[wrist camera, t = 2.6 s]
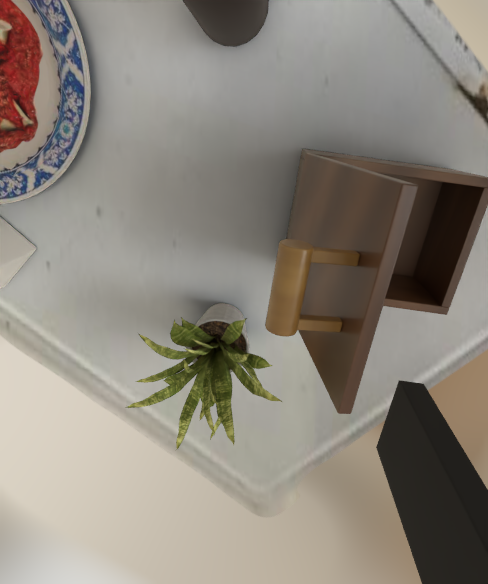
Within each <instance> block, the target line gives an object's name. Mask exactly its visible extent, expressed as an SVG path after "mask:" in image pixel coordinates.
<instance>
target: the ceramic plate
mask: <svg viewBox="0 0 488 584" xmlns="http://www.w3.org/2000/svg"><path fill="white" fill-rule="evenodd" d="M90 99H91V86H90V73H89V64H88V59H87V54H86V49H85V46H84V42H83V39H82V35H81V32H80V29H79V27H78V24H77V21H76V18H75V16H74V14H73V12H72V10H71V7H70V5H69V3H68V1H67V0H0V204H6V203H12V202H17V201H20V200H24V199H27V198H29V197H31V196H34V195H36V194H38V193H39V192H41V191H43V190H45V189H46V188H47V187H49V186H50V185H51V184H53V183H54V182H55V181H56V180H57V179H58V178H59V177H60V176H61V175H62V174H63V173H64V172H65V171H66V169H67V168H68V167H69V166H70V164H71V162H72V161H73V159H74V158H75V156H76V154H77V152H78V150H79V148H80V146H81V143H82V140H83V138H84V135H85V131H86V127H87V123H88V118H89V111H90Z"/></svg>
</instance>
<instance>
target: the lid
mask: <svg viewBox="0 0 488 584" xmlns="http://www.w3.org/2000/svg"><path fill="white" fill-rule="evenodd" d="M417 189H418V185H416V184H413V183H409V182H406V181H403V180H399V179H396V178H393V177H389V176H386V175H383V174H379V173H376V172H373V171H369V170H366V169H363V168H359V167H356V166H353V165H349V164H346V163H343V162H339V161H336V160H333V159H329V158H326V157H323V156H319V155H316V154H310V153H306V156H305V161H304V167H303V172H302V178H301V183H300V189H299V194H298V200H297V206H296V211H295V217H294V222H293V228H292V233H291V239H284V240H281V241H280V242H279V247H278V253H277V259H276V265H275V271H274V277H273V283H272V289H271V294H270V300H269V306H268V312H267V318H266V324H265V326H266V329H267V330H268V331H269V332H271V333H273V334H275V335H279V336H292V335H294V334H295V333H296V332H297V330H299V332H300V335H301V337H302V339H303V341H304V343H305V345H306V347H307V349H308V351H309V353H310V356H311V358H312V360H313V362H314V364H315V366H316V368H317V370H318V372H319V374H320V376H321V379H322V381H323V383H324V385H325V387H326V389H327V391H328V393H329V395H330V397H331V400H332V402H333V404H334V406H335V408H336V410H337V412H338V413H339V414H351V412H352V408H353V405H354V401H355V398H356V395H357V391H358V388H359V385H360V381H361V378H362V375H363V371H364V368H365V364H366V361H367V358H368V354H369V351H370V348H371V344H372V341H373V337H374V334H375V331H376V327H377V324H378V321H379V317H380V314H381V311H382V307H383V304H384V300H385V297H386V294H387V290H388V287H389V284H390V280H391V277H392V273H393V270H394V267H395V263H396V260H397V257H398V253H399V250H400V247H401V243H402V240H403V236H404V233H405V230H406V226H407V223H408V220H409V216H410V213H411V209H412V206H413V203H414V199H415V196H416V193H417Z"/></svg>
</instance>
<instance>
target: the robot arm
mask: <svg viewBox="0 0 488 584" xmlns="http://www.w3.org/2000/svg"><path fill="white" fill-rule="evenodd" d="M376 448H377V450H378V454H379V457H380V460H381V463H382V465H383V468H384V471H385V474H386V477H387V480H388V483H389V486H390V489H391V492H392V495H393V498H394V501H395V504H396V507H397V510H398V513H399V516H400V519H401V522H402V525H403V528H404V531H405V534H406V537H407V540H408V543H409V546H410V548H411V552H412V555H413V558H414V561H415V564H416V567H417V570H418V573H419V576H420V578H421V582H422V584H488V490H487V488H486V486H485V485H484V483H483V482H482V480H481V478H480V477H479V475H478V473H477V472H476V470H475V468H474V467H473V465H472V463H471V462H470V460H469V458H468V457H467V455H466V453H465V452H464V450H463V448H462V447H461V445H460V444H459V442H458V441H457V439H456V437H455V435H454V434H453V432H452V430H451V429H450V427H449V426H448V424H447V422H446V420H445V419H444V417H443V415H442V414H441V412H440V411H439V409H438V407H437V405H436V404H435V402H434V400H433V399H432V397H431V396H430V394H429V392H428V390H427V389H426V387H425V386H424V384H421V383H414V382H406V381H399V382H398V385H397V388H396V391H395V394H394V397H393V400H392V403H391V406H390V409H389V412H388V415H387V418H386V421H385V424H384V426H383V430H382V432H381V435H380V439H379V441H378V444H377V447H376Z"/></svg>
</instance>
